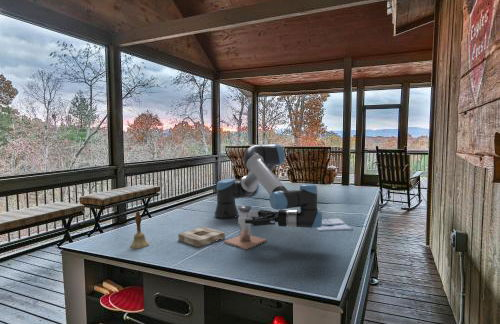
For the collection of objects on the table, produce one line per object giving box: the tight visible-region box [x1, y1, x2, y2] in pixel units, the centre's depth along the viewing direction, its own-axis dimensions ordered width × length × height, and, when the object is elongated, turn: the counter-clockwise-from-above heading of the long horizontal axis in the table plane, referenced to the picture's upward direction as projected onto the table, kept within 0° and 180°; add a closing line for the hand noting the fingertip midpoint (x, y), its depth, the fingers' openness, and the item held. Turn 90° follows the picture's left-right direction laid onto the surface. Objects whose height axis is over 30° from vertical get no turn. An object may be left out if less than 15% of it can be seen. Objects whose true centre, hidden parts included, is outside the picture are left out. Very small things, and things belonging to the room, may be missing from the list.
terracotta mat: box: [223, 235, 267, 250], centre depth 142 cm, size 14×14×1 cm
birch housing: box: [177, 226, 226, 248], centre depth 148 cm, size 16×16×3 cm
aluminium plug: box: [237, 204, 253, 242], centre depth 142 cm, size 6×6×16 cm
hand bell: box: [129, 211, 150, 249], centre depth 140 cm, size 8×8×16 cm
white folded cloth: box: [316, 217, 353, 232], centre depth 168 cm, size 19×20×2 cm
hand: (241, 216), depth 141 cm, fingers open, 13 cm apart
